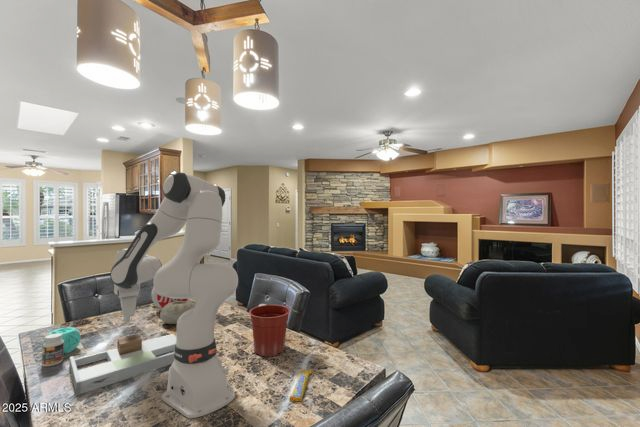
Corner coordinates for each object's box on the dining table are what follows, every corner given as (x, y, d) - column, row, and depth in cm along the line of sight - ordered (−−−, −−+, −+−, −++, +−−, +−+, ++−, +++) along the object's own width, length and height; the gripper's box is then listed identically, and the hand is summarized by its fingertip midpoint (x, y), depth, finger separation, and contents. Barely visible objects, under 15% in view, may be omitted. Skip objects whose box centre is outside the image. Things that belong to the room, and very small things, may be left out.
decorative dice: (80, 347, 116) (81, 327, 116) (61, 356, 108) (61, 335, 108) (62, 346, 117) (63, 326, 117) (42, 355, 109) (42, 334, 109)
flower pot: (240, 350, 116) (241, 310, 116) (272, 338, 128) (273, 302, 128) (264, 364, 105) (265, 320, 105) (297, 349, 117) (298, 310, 117)
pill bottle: (44, 368, 100) (45, 340, 100) (39, 364, 103) (40, 336, 103) (65, 362, 104) (66, 334, 105) (60, 357, 108) (61, 331, 108)
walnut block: (141, 349, 109) (141, 339, 110) (119, 355, 105) (119, 344, 105) (138, 343, 115) (138, 333, 115) (117, 348, 110) (117, 338, 110)
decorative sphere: (155, 318, 150) (156, 280, 151) (147, 308, 165) (148, 274, 166) (194, 310, 163) (195, 275, 164) (184, 302, 178) (184, 270, 179)
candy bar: (301, 405, 83) (302, 399, 83) (287, 404, 84) (288, 397, 84) (311, 374, 100) (311, 369, 100) (300, 373, 100) (300, 368, 100)
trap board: (192, 357, 109) (192, 347, 109) (76, 395, 85) (76, 382, 85) (172, 339, 125) (172, 330, 125) (69, 367, 101) (69, 356, 101)
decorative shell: (187, 313, 159) (187, 295, 159) (205, 320, 148) (206, 301, 148) (153, 322, 144) (153, 302, 144) (171, 331, 134) (171, 310, 134)
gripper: (116, 283, 122) (116, 315, 122) (119, 294, 106) (118, 331, 106) (134, 281, 126) (133, 312, 126) (139, 291, 110) (138, 327, 110)
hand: (127, 321), depth 116 cm, fingers closed
